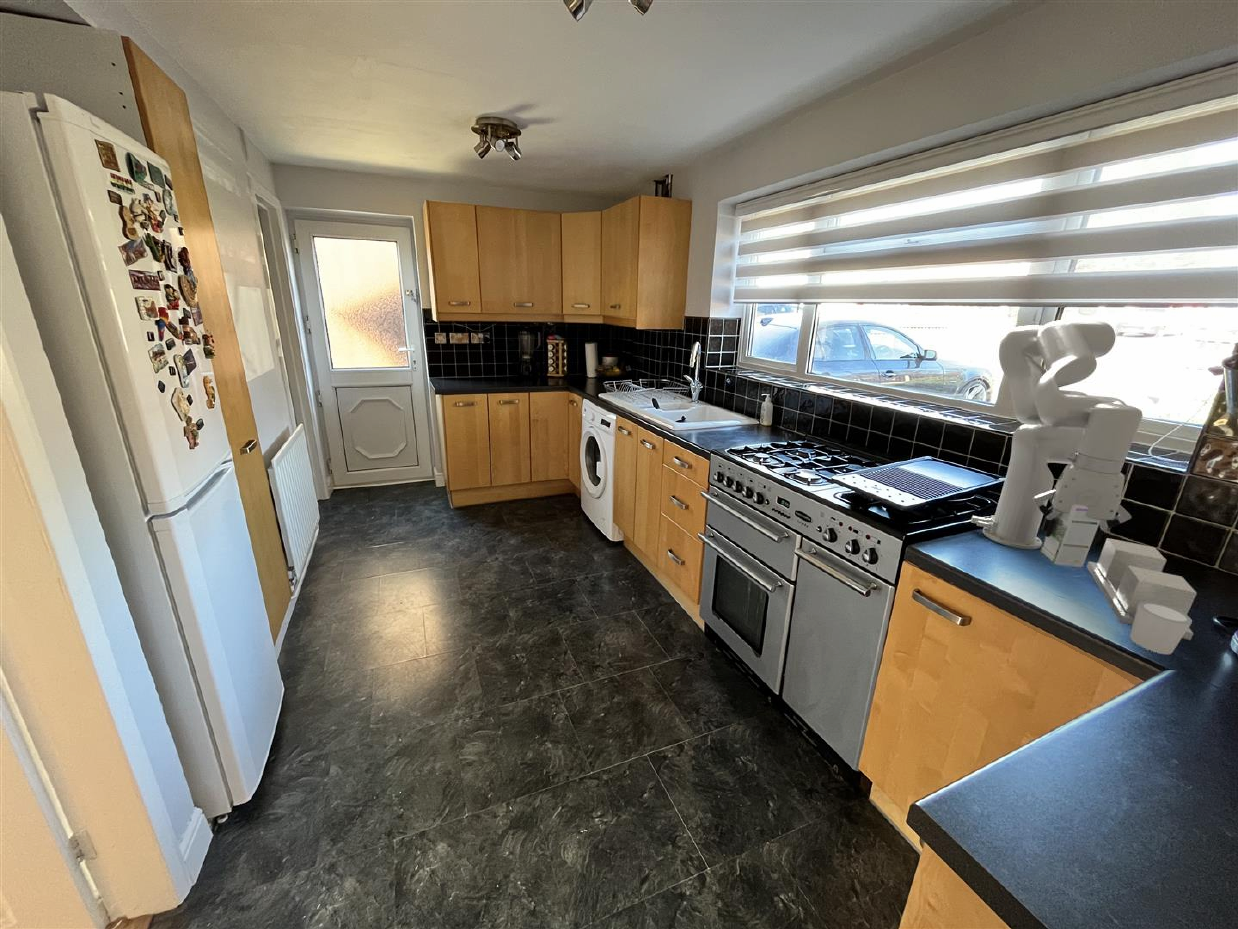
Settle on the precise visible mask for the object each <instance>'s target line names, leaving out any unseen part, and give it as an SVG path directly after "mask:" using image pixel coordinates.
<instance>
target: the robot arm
mask: <svg viewBox="0 0 1238 929" xmlns="http://www.w3.org/2000/svg"><path fill="white" fill-rule="evenodd" d="M1116 338H1117V336H1116V332H1115V330H1114V328H1113V326H1111V325H1110V324H1109V323H1107V322H1105V321H1098V320H1075V319H1074V320H1073V319H1072V320H1071V319H1062V320H1055V321H1051V322H1048V323H1046V324H1044V325H1024V326H1023V325H1022V326H1021V325H1020V326H1017V327H1013V328H1011V329H1009V330H1008V331H1006V332H1005V333H1004V334H1003V336H1002V338H1001V340H1000V342H999V343H1000V344H999V349H998V359H999V364H1000V367H1001V370H1002V372H1003V374H1004V375H1005V377H1006V380H1007V382H1008V385H1009V390H1010V395H1011V402H1012V407H1013V413H1014V416H1015V418H1016V419H1017V421H1018V422H1019V423H1021V425H1020V426H1019V427H1017V428H1016V430H1014V433H1013V435H1012V440H1011V451H1010V452H1011V453H1010V460H1009V463H1008V468H1007V471H1006V475H1005V479H1004V482H1003V486H1002V488H1001V493H1000V497H999V499H998V503H997V506H996V509H995V510H996V511H995V513H994V515H992V514H991V516H990V517H986V518H985V517H981V516H977V515H972V516H971V520H970V523H973V524H976V526H978V527H981V528H982V527H983V529H982V534H983V535H984V536H986V538H988V539H989V540H991V541H994V542H996V543H999V544H1001V545H1004V546H1007V547H1011V548H1016V549H1021V550H1037V549H1041V548H1042V545H1043V542H1042V540H1041V539H1040V538H1039V537H1038V536H1037V534H1038V532H1039V530H1040V529H1041V531H1042V532H1043V534H1044V537H1045V536H1046V537H1050V535H1051V532H1052V529H1053V527H1054V524H1055V520H1054V518H1055V517H1056V516H1057V515H1059V514H1060V513H1061V512H1062V513H1067V514H1068V513H1070V510H1071V507H1072V505H1074V504H1075V505H1087V506H1086V507H1088V509H1087V512H1086V515H1085V516H1086V517H1089V518H1092V519H1098V520H1101V521H1100V523H1099V526H1098V528H1097V531H1096V533H1095V536H1094V538H1093V541H1092V543H1091V546H1090V547H1094V548H1095V547H1096V545H1097V543H1100V542H1101V540H1102V538H1103V535H1104V533H1105V532H1106V531H1108V530H1109V529H1111V528H1114V527H1117V526H1119V525H1120V524H1122V523H1125V522H1127V521H1128V520H1129V521H1130V520H1131V519H1132V515H1131V514H1130V513H1129V511H1127V510H1126V509H1125V508H1124V507H1123V506H1122V505H1121V504H1120V502H1121V498H1122V494H1123V490H1124V485H1125V474H1123V473H1122V472H1121V471H1122V470H1123V469H1122V468H1123V466H1124V464H1125V461H1126V459H1127V456H1128V454H1129V451H1130V449H1131V446H1132V443H1133V442H1134V439H1135V437H1136V434H1137V432H1138V428H1139V426H1140V424H1141V422H1142V419H1143V411H1142V410H1141V409H1140V408H1137V407H1135V406H1132V405H1128V404H1127V403H1126V402H1124V401H1123V400H1122V399H1119V398H1116V397H1112V396H1111V397H1110V396H1099V395H1098V396H1097V395H1089V394H1087V393H1084V392H1083V391H1082V392H1081V391H1077V390H1061V389H1060V388H1063V387H1067V386H1071V385H1073V384H1077V383H1079V382H1083V380H1086V379H1087V378H1089V377H1090V376H1091V375H1093V373H1094V372H1095V370H1096V369H1097V365H1098V364H1097V358H1101V357H1103V356H1106V355H1107V354H1109V353H1110V351H1111V350H1112V349H1113V347H1114V345H1115V343H1116ZM1034 359H1036V360H1037V359H1038V360H1043V363H1044V365H1045V368H1046V369H1045V368H1044V367H1043V366H1042V364H1040V363H1038V362H1037V361H1035V360H1034ZM1049 463H1056V464H1064V465H1065V464H1067V465H1066V466H1065V467H1064V469H1063V471H1062V472H1061V474H1060V476H1059V477H1058V479H1057V480H1056V484H1055V485H1054V481H1055V480H1054V475H1053V473H1052V472H1051V470H1050V468H1049V467H1048V464H1049ZM1053 486H1054V488H1053ZM1048 501H1049V503H1050V504H1051V506H1050V507H1049V508H1048V507H1047V505H1048ZM1116 513H1118V514H1117V515H1116ZM1043 516H1044V519H1043ZM1042 520H1043V522H1042ZM1041 523H1042V526H1041ZM1040 526H1041V528H1040Z"/></svg>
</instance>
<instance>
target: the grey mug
mask: <svg viewBox="0 0 1238 929" xmlns="http://www.w3.org/2000/svg"><path fill="white" fill-rule="evenodd" d="M1192 622H1193V620H1192V619H1191V618H1190V616H1189V615H1188V614H1187V615H1185V614H1184V613H1182V612H1180V611H1178V610H1176V609H1174V608H1171V607H1168V606H1165V605H1162V604H1158V603H1153V602H1139V604H1138V607H1137V611H1136V615H1135V619H1134V622H1133V625H1131V626H1132V627H1131V630H1130V634H1129V639H1130V638H1131V639H1130V641H1131V640H1132V641H1131V642H1133V641H1134V642H1135V643H1136V644H1135V643H1134V642H1133V643H1134V644H1135V645H1137V644H1139V645H1141V646H1142V647H1144V648H1146V649H1145V650H1147V651H1149V650H1151V651H1150V652H1152V651H1153V653H1156V652H1157V654H1160V655H1161V654H1162V655H1171V654H1172V653H1173V652H1174V651H1175V649H1176V648H1177V646H1178V644H1179V643H1180V641H1181V640H1182V639H1183V638H1182V637H1183V635H1184V634H1185V632H1186V631H1187V629H1188V628H1189V629H1190V626H1191V625H1192V624H1193V623H1192ZM1139 645H1138V646H1139ZM1142 647H1141V648H1142ZM1144 648H1143V649H1144Z"/></svg>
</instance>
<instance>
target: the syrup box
mask: <svg viewBox="0 0 1238 929" xmlns="http://www.w3.org/2000/svg"><path fill="white" fill-rule="evenodd" d="M1086 506H1087V505H1075V504H1074V505H1072V507H1071V510H1070V513H1068V514H1067V513H1062V512H1061V513H1060V514H1059V515H1057V516H1056V517H1055V518H1054V520H1055V524H1054V527H1053V529H1052V532H1051V535H1050V537H1046V536H1045V535H1044V539H1043V542H1042V545H1041V547H1040V550H1039V551H1040V553H1041V554H1042V555H1043V556H1044V557H1046V558H1047V559H1048V560H1049V561H1050V562H1052V563H1053V564H1054V565H1057V566H1058V565H1059V566H1065V567H1073V568H1074V567H1075V568H1083V566H1084V564H1085V561H1086V559H1087V557H1088V553H1089V551H1090V548H1091V547H1092V546H1091V543H1092V541H1093V538H1094V536H1095V533H1096V531H1097V528H1098V526H1099V523H1100V521H1101V520H1098V519H1092V518H1089V517H1086V516H1085V515H1086V512H1087V509H1088V507H1086Z"/></svg>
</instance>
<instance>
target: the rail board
mask: <svg viewBox="0 0 1238 929" xmlns="http://www.w3.org/2000/svg"><path fill="white" fill-rule="evenodd" d="M1166 563H1167V559H1166V558H1165V557H1164V556H1163V555H1162V554H1161V552H1160V551H1159V549H1157V548H1156V547H1154V546H1150V545H1146V544H1139V543H1134V542H1129V541H1126V540H1125V541H1124V540H1120V539H1114V538H1108V537H1107V538H1106V539H1105V542H1104V545H1103V548H1102V550H1101V552H1100V556H1099V559H1098V561H1097V562H1094V561H1088V562H1087V565H1086V568H1087V570H1088V572H1089V574H1090V575H1091V577H1092V579H1093V580H1094V581H1095V582H1094V583H1095V584H1096V585H1097V586H1098V589H1099V590H1100V592H1101V594H1102V595H1103V597H1104V599H1105V601H1106V602H1107V604H1108V605H1109V607H1110V609H1111V610H1112V612H1113V614H1114V615H1115V617H1116V619H1117V620H1118V622H1119V623H1122V624H1126V625H1130V626H1133V622H1134V619H1135V615H1136V611H1137V607H1138V604H1139V602H1153V603H1158V604H1162V605H1165V606H1168V607H1171V608H1174V609H1176V610H1178V611H1180V612H1182V613H1184V614H1185V615H1187V616H1188V613H1189V612H1190V609H1191V607H1192V604H1193V603H1194V601H1195V598H1196V596H1197V591H1196V590H1195V589H1194V588H1193V587H1192V585H1190V584H1189V582H1187V580H1186V579H1185V578H1184V577H1183V576H1180V575H1176V574H1171V573H1167V572H1166V573H1165V572H1163V570H1164V567H1165V564H1166ZM1193 636H1194V632H1193V630H1191V628H1190V627H1189V628H1188V629H1187V631H1186V632H1185V634H1184V635H1183V637H1182V638H1181V639H1183V640H1187V641H1191V640H1192V638H1193Z"/></svg>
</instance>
